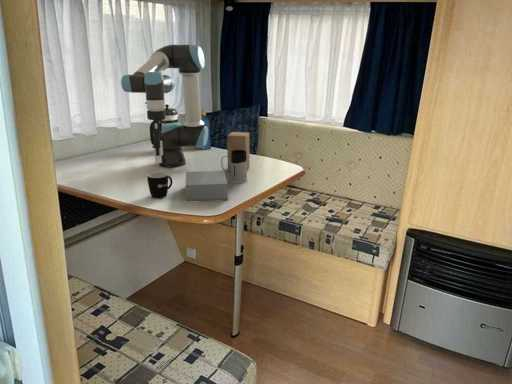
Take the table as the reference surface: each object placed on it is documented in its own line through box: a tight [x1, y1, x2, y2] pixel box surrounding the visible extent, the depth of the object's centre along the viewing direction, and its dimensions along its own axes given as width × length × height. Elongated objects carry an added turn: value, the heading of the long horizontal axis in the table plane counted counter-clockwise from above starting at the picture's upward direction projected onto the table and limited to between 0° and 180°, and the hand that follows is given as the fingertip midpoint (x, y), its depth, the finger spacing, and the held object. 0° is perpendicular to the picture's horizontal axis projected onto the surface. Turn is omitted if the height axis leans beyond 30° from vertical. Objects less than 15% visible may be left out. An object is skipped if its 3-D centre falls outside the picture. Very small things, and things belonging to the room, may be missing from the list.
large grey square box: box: [185, 170, 229, 202], centre depth 190 cm, size 21×19×8 cm
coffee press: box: [149, 103, 179, 146], centre depth 259 cm, size 17×16×30 cm
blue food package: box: [197, 109, 212, 151], centre depth 272 cm, size 6×12×25 cm, turn 36°
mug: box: [146, 171, 173, 199], centre depth 186 cm, size 12×9×10 cm
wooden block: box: [226, 131, 250, 173], centre depth 224 cm, size 10×10×20 cm
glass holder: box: [220, 150, 249, 184], centre depth 206 cm, size 9×14×15 cm, turn 122°
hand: (159, 158), depth 182 cm, fingers open, 13 cm apart
